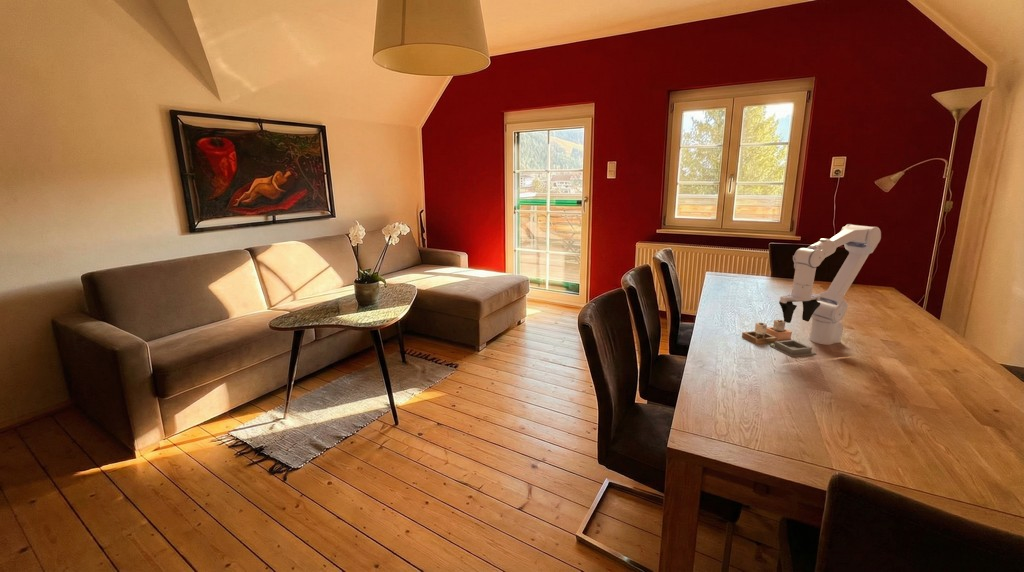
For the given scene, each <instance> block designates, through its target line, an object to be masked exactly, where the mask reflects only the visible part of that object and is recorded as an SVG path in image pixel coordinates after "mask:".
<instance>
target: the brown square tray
mask: <svg viewBox="0 0 1024 572" xmlns="http://www.w3.org/2000/svg"><path fill="white" fill-rule="evenodd" d="M754 333H755V330H751V331H743V332H742V334H741V337H742V338H743V339H745V340H747V341H749V342H751V343H753V344H755V345H764V344H775V342H777V341H778V340H777V338H776V337H774V336H772V335H770V334H768V333H766V336H765V338H759V339H758V338H756V337H754Z"/></svg>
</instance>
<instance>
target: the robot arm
mask: <svg viewBox="0 0 1024 572" xmlns="http://www.w3.org/2000/svg"><path fill="white" fill-rule="evenodd" d="M881 239H882V231H881V229H880V228H879V227H878V226H868V225H859V224H852V223H847V224H846V225H845V226H842V228H841V230H840V231H839V232H838V233H837V234H835V235H834V236H832V237H831V238H820V239H819V240H818V241H817V242H814V243H813V244H810V245H809V246H808V247H800V248H798V249H797V250H796V251H795V253H794V255H792V261H793V269H794V275H793V281H792V288H791V291H790V292H789V294H787V295H783V296H780V299H779V302H778V304H779V306H780V308H781V311H782V315H783V321H785V322H786V323H787V324H790V323H791V322H792V320H793V317H794V316H793V315H794V313H795V310H796V309H797V307H798V306H797V304H795V303H799V302H800V303H802V314H801V315H802V316H801V319H802V321H805V322H809V321H811V326H810V332H809V337H808V340H809V341H810V342H812V343H815V344H818V345H819V344H820V345H825V346H826V345H833V344H838V343H841V341H842V337H843V333H844V324H843V322H842V320H843V319H844V317H845V316H846V312H847V309H848V307H849V305H848V302H847V301H846V299H845V298H844V297H845V296H846V294H847V292H848V290H849V289H850V288H851V286H852V284H853V282H854V281H855V279H856V277H857V276H858V274H859V273H860V271H861V269H862V267H863V265H864V264H865V262H866V260H867V259H868V257H869V256H870V254H873V253H874V251H875V250H876V248H877V247H878V244H879V243H880V242H881ZM843 245H844V248H845V250H846V251H847V252H848V255H847V257H846V259H845V260H844V262H843V264H842V265H841V267H840V268H839V270H838V272H837V273H836V275H835V277H833V280H832V282H831V284H830V285H829V287H828V288H827V290H826V291H824V292H821V293H812V292H813V287H814V281H815V276H816V270H817V267H819V266H820V265H821V264H822V262H823V261H824V260H825V258H827V257H829V256H831V255H832V254H834V253H835V252H836V250H837V248H838V247H841V246H843ZM811 318H812V319H811Z"/></svg>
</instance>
